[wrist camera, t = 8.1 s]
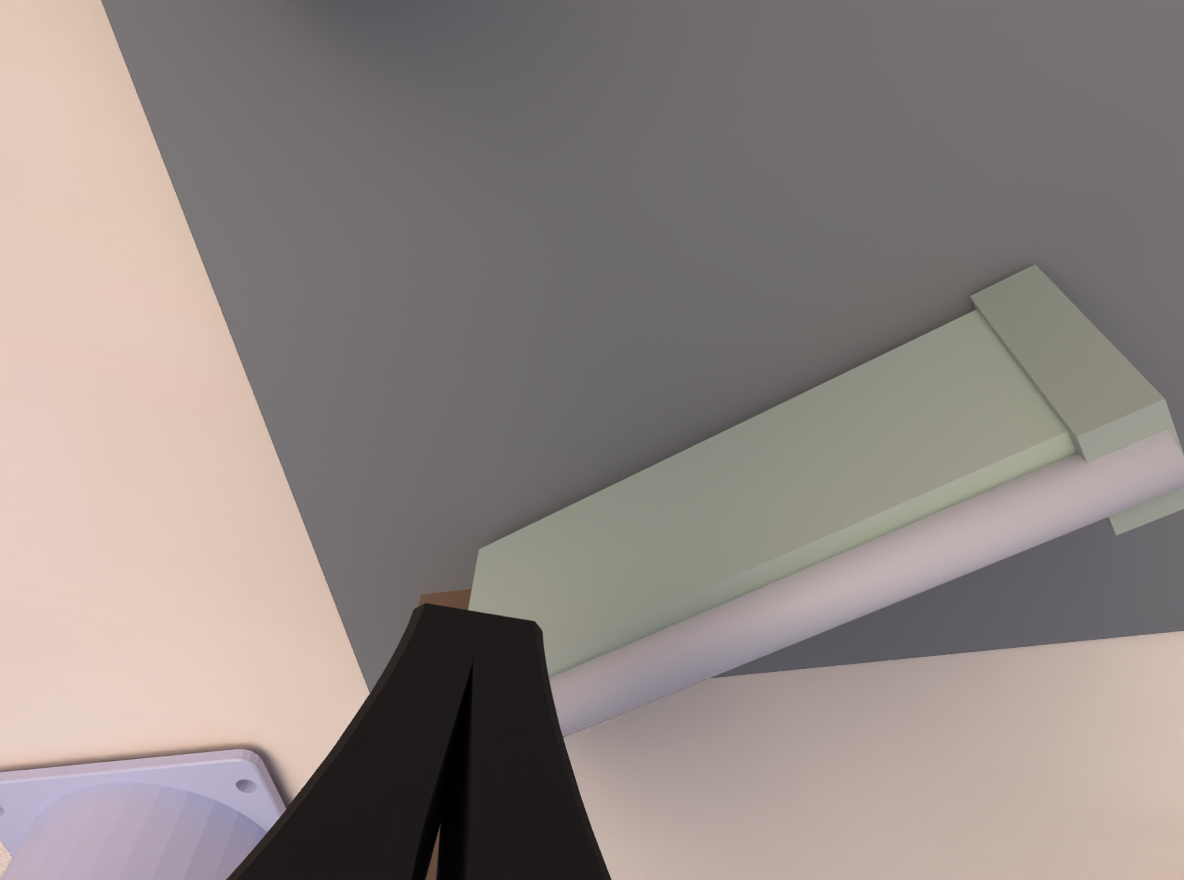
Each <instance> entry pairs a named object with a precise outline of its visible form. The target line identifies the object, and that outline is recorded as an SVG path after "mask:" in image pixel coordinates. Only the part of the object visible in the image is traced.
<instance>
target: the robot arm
mask: <svg viewBox="0 0 1184 880" xmlns="http://www.w3.org/2000/svg"><path fill="white" fill-rule="evenodd" d="M440 823H441V824H440ZM439 828H440V834H439V846H438V859H437V872H436V880H611V877H610V875H609V872H608V870H607V867H606V865H605V862H604V859H603V857H602V854H601V851H600V849H599V846H598V843H597V841H596V838H595V835H594V833H593V830H592V827H591V825H590V822H589V819H588V816H587V813H586V810H585V807H584V804H583V801H582V799H581V795H580V792H579V789H578V786H577V782H576V779H575V776H574V773H573V769H572V766H571V763H570V760H569V756H568V753H567V750H566V747H565V743H564V739H563V736H562V732H561V728H560V725H559V721H558V716H557V712H556V708H555V704H554V699H553V695H552V691H551V686H550V681H549V676H548V670H547V664H546V658H545V650H544V642H543V631H542V629H541V628H540V627H539V625H538V624H537V623H536V622H535V621H531V620H525V619H519V618H513V617H507V616H501V615H495V614H489V613H483V612H477V611H471V610H465V609H459V608H453V607H447V606H441V605H435V604H429V603H424V604H422V605H421V606H419V607H417V608H415V609H414V610H413V612H412V615H411V618H410V620H409V623H408V625H407V628H406V630H405V632H404V634H403V636H402V638H401V640H400V642H399V644H398V646H397V648H396V650H395V652H394V654H393V656H392V657H391V659H390V661H389V663H388V664H387V666H386V668H385V670H384V671H383V673H382V675H381V676H380V678H379V680H378V681H377V683H376V684H375V686H374V688H373V689H372V691H371V693H370V694H369V696H368V697H367V699H366V700H365V702H364V703H363V705H362V706H361V708H360V709H359V711H358V712H357V714H356V715H355V717H354V718H353V720H352V721H351V723H350V724H349V725H348V727H347V728H346V730H345V731H344V733H343V734H342V736H341V737H340V739H339V740H338V742H337V743H336V745H335V746H334V747H333V749H332V750H331V752H330V753H329V754H328V756H327V757H326V758H325V760H324V761H323V762H322V764H321V765H320V766H319V768H318V769H317V770H316V771H315V773H314V774H313V775H312V777H311V778H310V779H309V780H308V782H307V783H306V784H305V786H304V787H303V788H302V789H301V791H300V792H299V793H298V795H297V796H296V797H295V798H294V800H293V801H292V802H291V804H290V805H289V806H288V808H287V809H286V807H285V805H284V803H283V801H282V799H281V797H280V795H279V793H278V791H277V789H276V787H275V785H274V783H273V781H272V779H271V777H270V775H269V773H268V771H267V769H266V767H265V765H264V762H263V760H262V759H261V758H260V757H259V755H257V754H256V753H254V752H253V751H250V750H246V749H233V750H223V751H212V752H202V753H192V754H182V755H172V756H161V757H151V758H141V759H131V760H120V761H110V762H100V763H90V764H79V765H69V766H59V767H49V768H38V769H28V770H18V771H8V772H0V841H1V842H2V844H3V845H4V846H5V848H6V849H7V850H8V852H9V853H10V854H11V856H12V859H11V861H10V863H9V864H8V866H7V868H6V869H5V871H4V873H3V875H2V876H1V878H0V880H426V877H427V873H428V869H429V866H430V862H431V858H432V854H433V850H434V847H435V843H436V839H437V835H438V832H439Z"/></svg>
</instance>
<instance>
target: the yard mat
mask: <svg viewBox="0 0 1184 880" xmlns="http://www.w3.org/2000/svg"><path fill="white" fill-rule="evenodd" d="M101 1H102V4H103V6H104V9H105V11H106V14H107V17H108V19H109V22H110V24H111V27H112V29H113V32H114V35H115V37H116V40H117V42H118V45H119V48H120V50H121V53H122V55H123V58H124V60H125V63H126V66H127V68H128V71H129V73H130V76H131V78H132V81H133V84H134V86H135V89H136V91H137V94H138V97H139V99H140V102H141V104H142V107H143V109H144V112H145V115H146V117H147V120H148V122H149V125H150V127H151V130H152V133H153V135H154V138H155V140H156V143H157V146H158V148H159V151H160V153H161V156H162V158H163V161H164V164H165V166H166V169H167V171H168V174H169V176H170V179H171V182H172V184H173V187H174V189H175V192H176V195H177V197H178V200H179V202H180V205H181V207H182V210H183V213H184V215H185V218H186V220H187V223H188V225H189V228H190V231H191V233H192V236H193V238H194V241H195V244H196V246H197V249H198V251H199V254H200V256H201V259H202V262H203V264H204V267H205V269H206V272H207V274H208V277H209V280H210V282H211V285H212V287H213V290H214V293H215V295H216V298H217V300H218V303H219V305H220V308H221V311H222V313H223V316H224V318H225V321H226V323H227V326H228V329H229V331H230V334H231V336H232V339H233V342H234V344H235V347H236V349H237V352H238V354H239V357H240V360H241V362H242V365H243V367H244V370H245V372H246V375H247V378H248V380H249V383H250V385H251V388H252V391H253V393H254V396H255V398H256V401H257V403H258V406H259V409H260V411H261V414H262V416H263V419H264V421H265V424H266V427H267V429H268V432H269V434H270V437H271V440H272V442H273V445H274V447H275V450H276V452H277V455H278V458H279V460H280V463H281V465H282V468H283V470H284V473H285V476H286V478H287V481H288V483H289V486H290V489H291V491H292V494H293V496H294V499H295V501H296V504H297V507H298V509H299V512H300V514H301V517H302V519H303V522H304V525H305V527H306V530H307V532H308V535H309V538H310V540H311V543H312V545H313V548H314V550H315V553H316V556H317V558H318V561H319V563H320V566H321V568H322V571H323V574H324V576H325V579H326V581H327V584H328V586H329V589H330V592H331V594H332V597H333V599H334V602H335V605H336V607H337V610H338V612H339V615H340V617H341V620H342V623H343V625H344V628H345V630H346V633H347V635H348V638H349V641H350V643H351V646H352V648H353V651H354V654H355V656H356V659H357V661H358V664H359V666H360V669H361V672H362V674H363V677H364V679H365V682H366V684H367V687H368V690H369V692H370V693H371V691H372V689H373V688H374V686H375V684H376V683H377V681H378V680H379V678H380V676H381V675H382V673H383V671H384V670H385V668H386V666H387V664H388V663H389V661H390V659H391V657H392V656H393V654H394V652H395V650H396V648H397V646H398V644H399V642H400V640H401V638H402V636H403V634H404V632H405V630H406V628H407V625H408V623H409V620H410V618H411V615H412V612H413V610H414V609H415V608H417V607H418V605H419V601H420V597H421V595H423V594H432V593H441V592H449V591H458V590H467V589H472V585H473V580H474V574H475V569H476V563H477V557H478V552H479V549H481V548H483V547H485V546H487V545H489V544H491V543H493V542H495V541H497V540H499V539H501V538H504V537H506V536H508V535H510V534H512V533H514V532H516V531H518V530H520V529H522V528H524V527H526V526H528V525H530V524H533V523H535V522H537V521H539V520H541V519H543V518H545V517H547V516H549V515H551V514H553V513H555V512H557V511H560V510H562V509H564V508H566V507H568V506H570V505H572V504H574V503H576V502H578V501H580V500H582V499H584V498H586V497H589V496H591V495H593V494H595V493H597V492H599V491H601V490H603V489H605V488H607V487H609V486H611V485H613V484H615V483H618V482H620V481H622V480H624V479H626V478H628V477H630V476H632V475H634V474H636V473H638V472H640V471H642V470H645V469H647V468H649V467H651V466H653V465H655V464H657V463H659V462H661V461H663V460H665V459H667V458H669V457H671V456H674V455H676V454H678V453H680V452H682V451H684V450H686V449H688V448H690V447H692V446H694V445H696V444H698V443H700V442H703V441H705V440H707V439H709V438H711V437H713V436H715V435H717V434H719V433H721V432H723V431H725V430H727V429H730V428H732V427H734V426H736V425H738V424H740V423H742V422H744V421H746V420H748V419H750V418H752V417H754V416H756V415H759V414H761V413H763V412H765V411H767V410H769V409H771V408H773V407H775V406H777V405H779V404H781V403H783V402H785V401H788V400H790V399H792V398H794V397H796V396H798V395H800V394H802V393H804V392H806V391H808V390H810V389H812V388H814V387H817V386H819V385H821V384H823V383H825V382H827V381H829V380H831V379H833V378H835V377H837V376H839V375H841V374H844V373H846V372H848V371H850V370H852V369H854V368H856V367H858V366H860V365H862V364H864V363H866V362H868V361H870V360H873V359H875V358H877V357H879V356H881V355H883V354H885V353H887V352H889V351H891V350H893V349H895V348H897V347H899V346H902V345H904V344H906V343H908V342H910V341H912V340H914V339H916V338H918V337H920V336H922V335H924V334H926V333H929V332H931V331H933V330H935V329H937V328H939V327H941V326H943V325H945V324H947V323H949V322H951V321H953V320H955V319H958V318H960V317H962V316H964V315H966V314H968V313H970V312H972V311H974V310H976V309H975V307H974V305H973V302H972V300H971V298H970V296H971V295H973V294H975V293H977V292H979V291H981V290H984V289H986V288H988V287H990V286H992V285H994V284H996V283H998V282H1000V281H1002V280H1004V279H1006V278H1008V277H1010V276H1012V275H1014V274H1016V273H1018V272H1020V271H1023V270H1025V269H1027V268H1029V267H1031V266H1033V265H1035V264H1036V265H1037V266H1038V268H1039V269H1040V270H1041V271H1042V272H1043V273H1044V274H1045V275H1046V276H1047V277H1048V278H1049V279H1050V280H1051V281H1052V282H1053V283H1054V284H1055V285H1056V286H1057V287H1058V288H1059V289H1060V290H1061V291H1062V292H1063V293H1064V295H1065V296H1066V297H1067V298H1068V299H1069V300H1070V301H1071V302H1072V303H1073V304H1074V305H1075V306H1076V307H1077V308H1078V309H1079V310H1080V311H1081V312H1082V313H1083V314H1084V315H1085V316H1086V317H1087V318H1088V319H1089V320H1090V322H1091V323H1092V324H1093V325H1094V326H1095V327H1096V328H1097V329H1098V330H1099V331H1100V332H1101V333H1102V334H1103V335H1104V336H1105V337H1106V338H1107V339H1108V340H1109V341H1110V342H1111V343H1112V344H1113V345H1114V346H1115V347H1116V349H1117V350H1118V351H1119V352H1120V353H1121V354H1122V355H1123V356H1124V357H1125V358H1126V359H1127V360H1128V361H1129V362H1130V363H1131V364H1132V365H1133V366H1134V367H1135V368H1136V369H1137V370H1138V371H1139V372H1140V373H1141V374H1142V375H1143V377H1144V378H1145V379H1146V380H1147V381H1148V382H1149V383H1150V384H1151V385H1152V386H1153V387H1154V388H1155V389H1156V390H1157V391H1158V392H1159V393H1160V394H1161V395H1162V396H1163V397H1164V398H1165V400H1166V403H1167V406H1168V409H1169V412H1170V415H1171V418H1172V421H1173V424H1174V427H1175V430H1176V433H1177V436H1178V439H1179V442H1180V445H1181V448H1182V451H1183V454H1184V0H101ZM1175 631H1184V509H1182V510H1179V511H1177V512H1174V513H1172V514H1169V515H1167V516H1164V517H1162V518H1159V519H1157V520H1154V521H1152V522H1149V523H1147V524H1144V525H1142V526H1139V527H1137V528H1134V529H1132V530H1129V531H1127V532H1124V533H1122V534H1119V535H1117V536H1116V534H1115V533H1114V532H1113V530H1112V529H1111V527H1110V526H1109V525H1108V523H1107V522H1106V520H1105V519H1102V520H1099V521H1097V522H1094V523H1092V524H1089V525H1087V526H1084V527H1082V528H1079V529H1077V530H1074V531H1072V532H1069V533H1067V534H1065V535H1062V536H1060V537H1057V538H1055V539H1052V540H1050V541H1047V542H1045V543H1042V544H1040V545H1037V546H1035V547H1032V548H1030V549H1027V550H1025V551H1022V552H1020V553H1018V554H1015V555H1013V556H1010V557H1008V558H1005V559H1003V560H1000V561H998V562H995V563H993V564H990V565H988V566H985V567H983V568H980V569H978V570H976V571H973V572H971V573H968V574H966V575H963V576H961V577H958V578H956V579H953V580H951V581H948V582H946V583H943V584H941V585H938V586H936V587H933V588H931V589H929V590H926V591H924V592H921V593H919V594H916V595H914V596H911V597H909V598H906V599H904V600H901V601H899V602H896V603H894V604H891V605H889V606H886V607H884V608H882V609H879V610H877V611H874V612H872V613H869V614H867V615H864V616H862V617H859V618H857V619H854V620H852V621H849V622H847V623H844V624H842V625H840V626H837V627H835V628H832V629H830V630H827V631H825V632H822V633H820V634H817V635H815V636H812V637H810V638H807V639H805V640H802V641H800V642H797V643H795V644H793V645H790V646H788V647H785V648H783V649H780V650H778V651H775V652H773V653H770V654H768V655H765V656H763V657H760V658H758V659H755V660H753V661H750V662H748V663H746V664H743V665H741V666H738V667H736V668H733V669H731V670H728V671H726V672H723V673H721V674H718V675H716V676H713V677H711V678H716V677H726V676H736V675H746V674H756V673H766V672H776V671H786V670H796V669H806V668H816V667H826V666H836V665H846V664H856V663H866V662H876V661H886V660H896V659H906V658H916V657H926V656H936V655H946V654H956V653H966V652H976V651H986V650H996V649H1005V648H1015V647H1025V646H1035V645H1045V644H1055V643H1065V642H1075V641H1085V640H1095V639H1105V638H1115V637H1125V636H1135V635H1145V634H1155V633H1165V632H1175Z"/></svg>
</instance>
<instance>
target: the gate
mask: <svg viewBox="0 0 1184 880" xmlns="http://www.w3.org/2000/svg"><path fill="white" fill-rule="evenodd" d="M970 298H971V300H972V302H973V305H974V307H975V309H976V310H974V311H972V312H970V313H968V314H966V315H964V316H962V317H960V318H958V319H955V320H953V321H951V322H949V323H947V324H945V325H943V326H941V327H939V328H937V329H935V330H933V331H931V332H929V333H926V334H924V335H922V336H920V337H918V338H916V339H914V340H912V341H910V342H908V343H906V344H904V345H902V346H899V347H897V348H895V349H893V350H891V351H889V352H887V353H885V354H883V355H881V356H879V357H877V358H875V359H873V360H870V361H868V362H866V363H864V364H862V365H860V366H858V367H856V368H854V369H852V370H850V371H848V372H846V373H844V374H841V375H839V376H837V377H835V378H833V379H831V380H829V381H827V382H825V383H823V384H821V385H819V386H817V387H814V388H812V389H810V390H808V391H806V392H804V393H802V394H800V395H798V396H796V397H794V398H792V399H790V400H788V401H785V402H783V403H781V404H779V405H777V406H775V407H773V408H771V409H769V410H767V411H765V412H763V413H761V414H759V415H756V416H754V417H752V418H750V419H748V420H746V421H744V422H742V423H740V424H738V425H736V426H734V427H732V428H730V429H727V430H725V431H723V432H721V433H719V434H717V435H715V436H713V437H711V438H709V439H707V440H705V441H703V442H700V443H698V444H696V445H694V446H692V447H690V448H688V449H686V450H684V451H682V452H680V453H678V454H676V455H674V456H671V457H669V458H667V459H665V460H663V461H661V462H659V463H657V464H655V465H653V466H651V467H649V468H647V469H645V470H642V471H640V472H638V473H636V474H634V475H632V476H630V477H628V478H626V479H624V480H622V481H620V482H618V483H615V484H613V485H611V486H609V487H607V488H605V489H603V490H601V491H599V492H597V493H595V494H593V495H591V496H589V497H586V498H584V499H582V500H580V501H578V502H576V503H574V504H572V505H570V506H568V507H566V508H564V509H562V510H560V511H557V512H555V513H553V514H551V515H549V516H547V517H545V518H543V519H541V520H539V521H537V522H535V523H533V524H530V525H528V526H526V527H524V528H522V529H520V530H518V531H516V532H514V533H512V534H510V535H508V536H506V537H504V538H501V539H499V540H497V541H495V542H493V543H491V544H489V545H487V546H485V547H483V548H481V549H479V552H478V557H477V563H476V569H475V574H474V580H473V585H472V591H471V596H470V602H469V607H468V610H471V611H477V612H483V613H489V614H495V615H501V616H507V617H513V618H519V619H525V620H531V621H535V622H536V623H537V624H538V625H539V627H540V628H541V629H542V631H543V642H544V650H545V658H546V664H547V670H548V676H549V681H550V686H551V691H552V695H553V699H554V704H555V708H556V712H557V716H558V721H559V725H560V728H561V732H562V736H563V737H565V736H568V735H570V734H572V733H575V732H577V731H580V730H582V729H585V728H587V727H590V726H592V725H595V724H597V723H600V722H602V721H605V720H607V719H610V718H612V717H614V716H617V715H619V714H622V713H624V712H627V711H629V710H632V709H634V708H637V707H639V706H642V705H644V704H647V703H649V702H652V701H654V700H657V699H659V698H661V697H664V696H666V695H669V694H671V693H674V692H676V691H679V690H681V689H684V688H686V687H689V686H691V685H694V684H696V683H699V682H701V681H704V680H706V679H708V678H711V677H713V676H716V675H718V674H721V673H723V672H726V671H728V670H731V669H733V668H736V667H738V666H741V665H743V664H746V663H748V662H750V661H753V660H755V659H758V658H760V657H763V656H765V655H768V654H770V653H773V652H775V651H778V650H780V649H783V648H785V647H788V646H790V645H793V644H795V643H797V642H800V641H802V640H805V639H807V638H810V637H812V636H815V635H817V634H820V633H822V632H825V631H827V630H830V629H832V628H835V627H837V626H840V625H842V624H844V623H847V622H849V621H852V620H854V619H857V618H859V617H862V616H864V615H867V614H869V613H872V612H874V611H877V610H879V609H882V608H884V607H886V606H889V605H891V604H894V603H896V602H899V601H901V600H904V599H906V598H909V597H911V596H914V595H916V594H919V593H921V592H924V591H926V590H929V589H931V588H933V587H936V586H938V585H941V584H943V583H946V582H948V581H951V580H953V579H956V578H958V577H961V576H963V575H966V574H968V573H971V572H973V571H976V570H978V569H980V568H983V567H985V566H988V565H990V564H993V563H995V562H998V561H1000V560H1003V559H1005V558H1008V557H1010V556H1013V555H1015V554H1018V553H1020V552H1022V551H1025V550H1027V549H1030V548H1032V547H1035V546H1037V545H1040V544H1042V543H1045V542H1047V541H1050V540H1052V539H1055V538H1057V537H1060V536H1062V535H1065V534H1067V533H1069V532H1072V531H1074V530H1077V529H1079V528H1082V527H1084V526H1087V525H1089V524H1092V523H1094V522H1097V521H1099V520H1102V519H1105V520H1106V522H1107V523H1108V525H1109V526H1110V527H1111V529H1112V530H1113V532H1114V533H1115V534H1116V536H1117V535H1119V534H1122V533H1124V532H1127V531H1129V530H1132V529H1134V528H1137V527H1139V526H1142V525H1144V524H1147V523H1149V522H1152V521H1154V520H1157V519H1159V518H1162V517H1164V516H1167V515H1169V514H1172V513H1174V512H1177V511H1179V510H1182V509H1184V454H1183V451H1182V448H1181V445H1180V442H1179V439H1178V436H1177V433H1176V430H1175V427H1174V424H1173V421H1172V418H1171V415H1170V412H1169V409H1168V406H1167V403H1166V400H1165V398H1164V397H1163V396H1162V395H1161V394H1160V393H1159V392H1158V391H1157V390H1156V389H1155V388H1154V387H1153V386H1152V385H1151V384H1150V383H1149V382H1148V381H1147V380H1146V379H1145V378H1144V377H1143V375H1142V374H1141V373H1140V372H1139V371H1138V370H1137V369H1136V368H1135V367H1134V366H1133V365H1132V364H1131V363H1130V362H1129V361H1128V360H1127V359H1126V358H1125V357H1124V356H1123V355H1122V354H1121V353H1120V352H1119V351H1118V350H1117V349H1116V347H1115V346H1114V345H1113V344H1112V343H1111V342H1110V341H1109V340H1108V339H1107V338H1106V337H1105V336H1104V335H1103V334H1102V333H1101V332H1100V331H1099V330H1098V329H1097V328H1096V327H1095V326H1094V325H1093V324H1092V323H1091V322H1090V320H1089V319H1088V318H1087V317H1086V316H1085V315H1084V314H1083V313H1082V312H1081V311H1080V310H1079V309H1078V308H1077V307H1076V306H1075V305H1074V304H1073V303H1072V302H1071V301H1070V300H1069V299H1068V298H1067V297H1066V296H1065V295H1064V293H1063V292H1062V291H1061V290H1060V289H1059V288H1058V287H1057V286H1056V285H1055V284H1054V283H1053V282H1052V281H1051V280H1050V279H1049V278H1048V277H1047V276H1046V275H1045V274H1044V273H1043V272H1042V271H1041V270H1040V269H1039V268H1038V266H1037V265H1036V264H1035V265H1033V266H1031V267H1029V268H1027V269H1025V270H1023V271H1020V272H1018V273H1016V274H1014V275H1012V276H1010V277H1008V278H1006V279H1004V280H1002V281H1000V282H998V283H996V284H994V285H992V286H990V287H988V288H986V289H984V290H981V291H979V292H977V293H975V294H973V295H971V296H970Z"/></svg>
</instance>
